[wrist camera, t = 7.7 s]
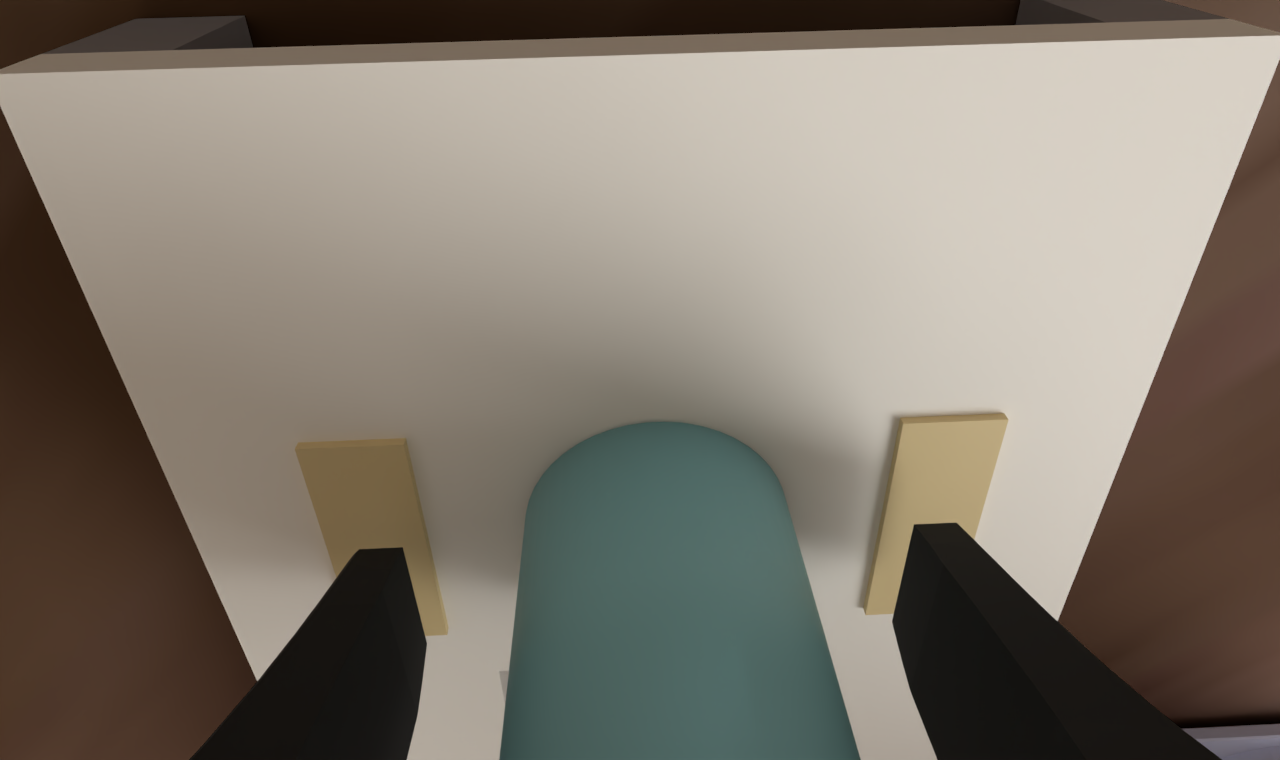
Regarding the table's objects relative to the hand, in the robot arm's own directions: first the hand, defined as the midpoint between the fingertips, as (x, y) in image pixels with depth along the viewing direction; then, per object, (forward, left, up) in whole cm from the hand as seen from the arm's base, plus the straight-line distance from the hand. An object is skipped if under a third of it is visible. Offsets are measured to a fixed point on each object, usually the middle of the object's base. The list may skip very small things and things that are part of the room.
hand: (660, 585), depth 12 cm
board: (-3, 0, -4) cm, 5 cm away
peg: (0, 0, -4) cm, 4 cm away
